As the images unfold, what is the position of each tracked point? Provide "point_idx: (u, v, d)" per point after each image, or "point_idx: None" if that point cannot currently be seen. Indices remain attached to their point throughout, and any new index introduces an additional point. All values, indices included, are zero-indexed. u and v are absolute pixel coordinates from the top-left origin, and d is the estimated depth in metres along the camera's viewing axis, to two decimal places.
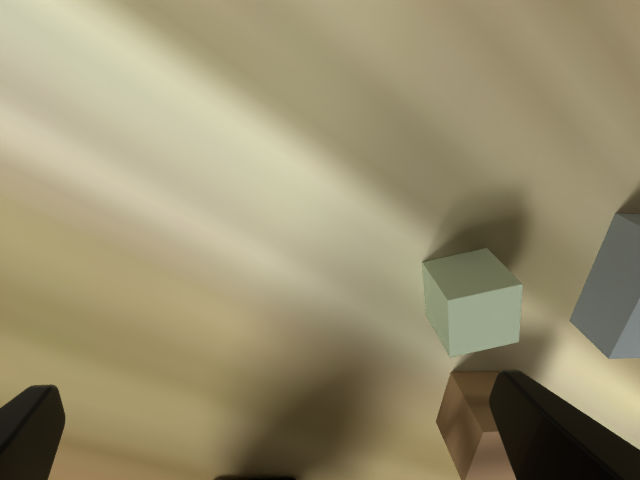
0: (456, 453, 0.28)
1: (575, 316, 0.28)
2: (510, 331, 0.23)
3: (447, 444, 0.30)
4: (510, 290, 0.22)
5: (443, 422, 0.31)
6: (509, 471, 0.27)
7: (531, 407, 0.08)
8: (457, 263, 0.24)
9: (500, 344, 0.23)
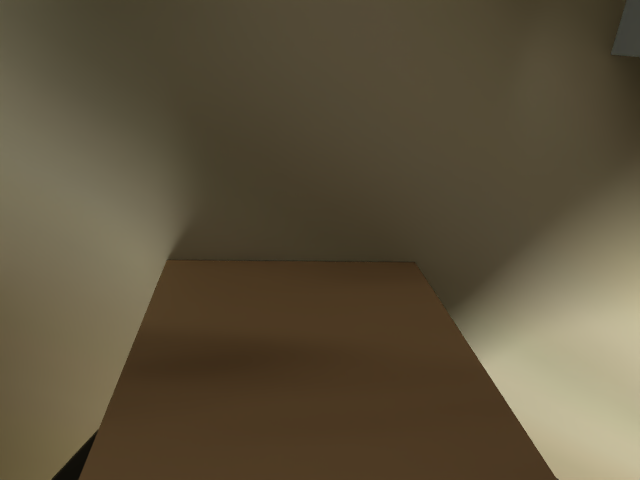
0: None
1: (636, 18, 0.07)
2: None
3: None
4: None
5: None
6: None
7: None
8: None
9: None
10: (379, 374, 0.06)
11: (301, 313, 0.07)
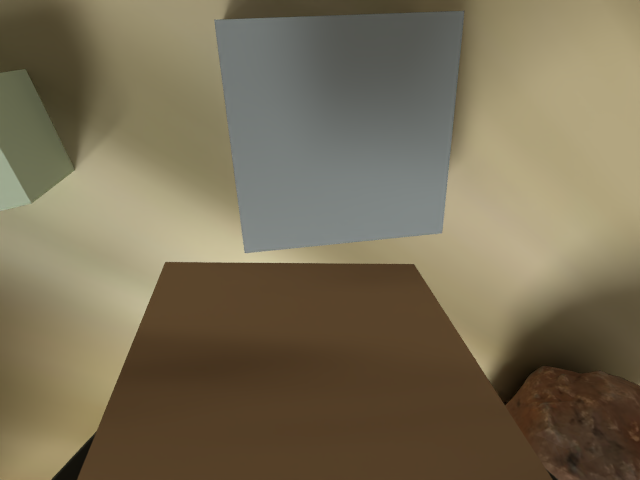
0: None
1: None
2: None
3: None
4: None
5: None
6: None
7: None
8: None
9: None
10: (377, 378, 0.06)
11: (299, 316, 0.07)
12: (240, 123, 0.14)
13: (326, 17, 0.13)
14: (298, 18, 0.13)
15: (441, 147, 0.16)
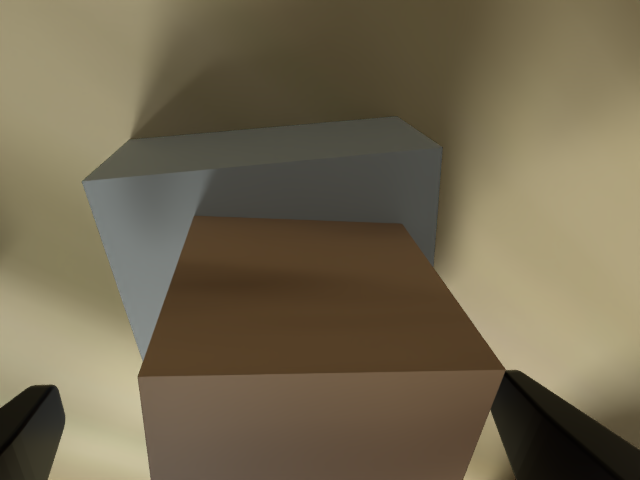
0: None
1: None
2: None
3: None
4: None
5: None
6: None
7: (531, 407, 0.08)
8: None
9: None
10: (368, 295, 0.07)
11: (307, 254, 0.08)
12: (138, 297, 0.10)
13: (243, 168, 0.09)
14: (203, 172, 0.09)
15: None
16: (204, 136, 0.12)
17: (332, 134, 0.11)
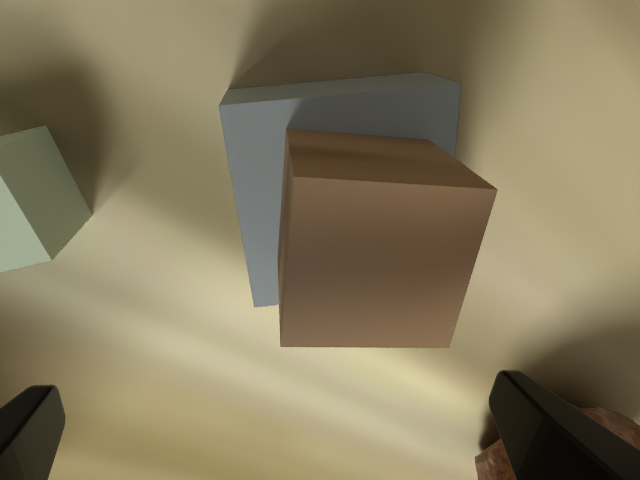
0: (280, 288, 0.13)
1: None
2: (23, 240, 0.14)
3: None
4: None
5: (279, 247, 0.15)
6: (388, 318, 0.12)
7: (531, 407, 0.08)
8: None
9: (20, 264, 0.15)
10: (412, 163, 0.12)
11: (368, 147, 0.13)
12: (246, 194, 0.15)
13: (325, 97, 0.14)
14: (298, 100, 0.14)
15: None
16: (284, 85, 0.16)
17: (379, 81, 0.16)
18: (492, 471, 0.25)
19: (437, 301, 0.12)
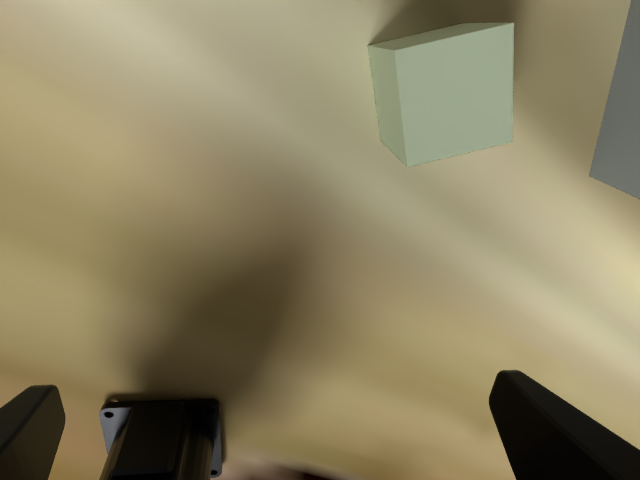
0: None
1: (595, 167, 0.21)
2: (498, 119, 0.15)
3: None
4: (494, 35, 0.14)
5: None
6: None
7: (531, 407, 0.08)
8: (417, 36, 0.16)
9: (484, 145, 0.15)
10: None
11: None
12: None
13: None
14: None
15: None
16: None
17: None
18: None
19: None
